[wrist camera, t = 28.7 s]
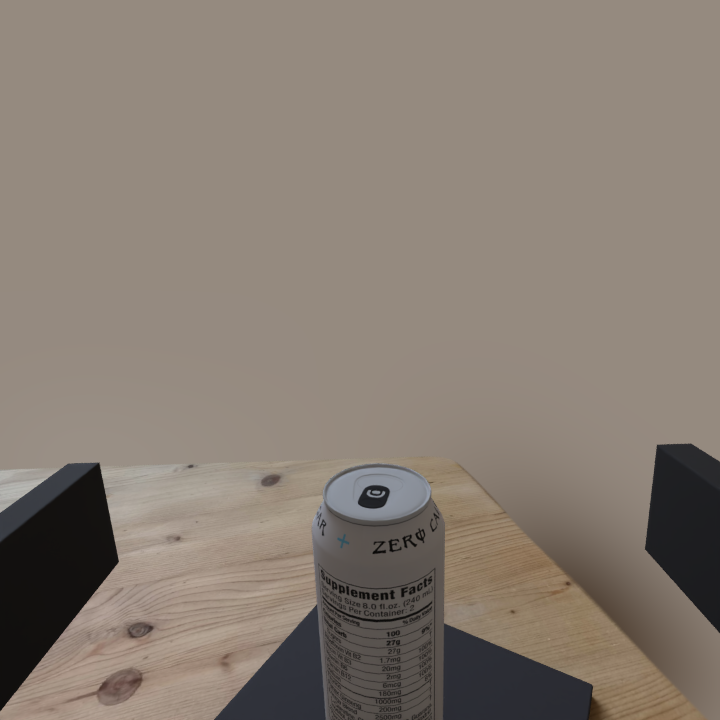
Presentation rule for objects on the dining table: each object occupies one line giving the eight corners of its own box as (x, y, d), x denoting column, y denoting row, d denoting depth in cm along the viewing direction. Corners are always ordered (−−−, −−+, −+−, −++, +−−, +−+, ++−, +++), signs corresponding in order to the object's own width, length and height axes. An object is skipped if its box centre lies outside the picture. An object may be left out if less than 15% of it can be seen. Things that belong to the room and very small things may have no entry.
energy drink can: (448, 702, 27) (451, 463, 23) (435, 826, 21) (436, 539, 17) (347, 678, 28) (334, 452, 24) (311, 789, 23) (286, 519, 19)
